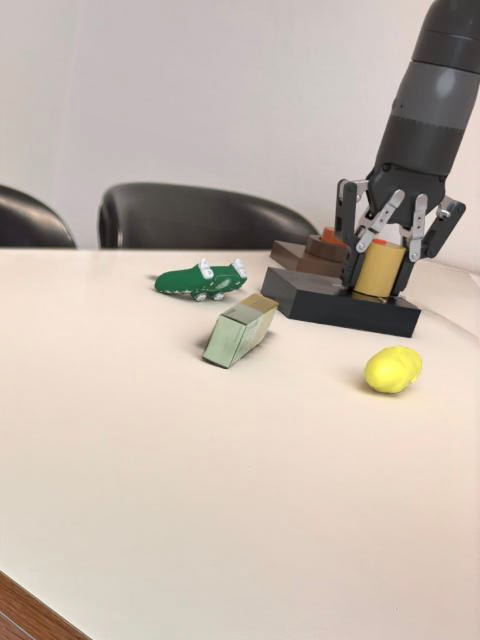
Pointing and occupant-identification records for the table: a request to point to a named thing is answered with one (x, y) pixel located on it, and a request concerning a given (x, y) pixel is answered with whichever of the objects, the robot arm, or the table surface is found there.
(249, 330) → the medication box
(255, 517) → the table surface
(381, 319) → the dark grey flat block
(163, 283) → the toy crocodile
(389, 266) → the dimmer knob
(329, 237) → the power button
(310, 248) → the switch block
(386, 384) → the lemon
